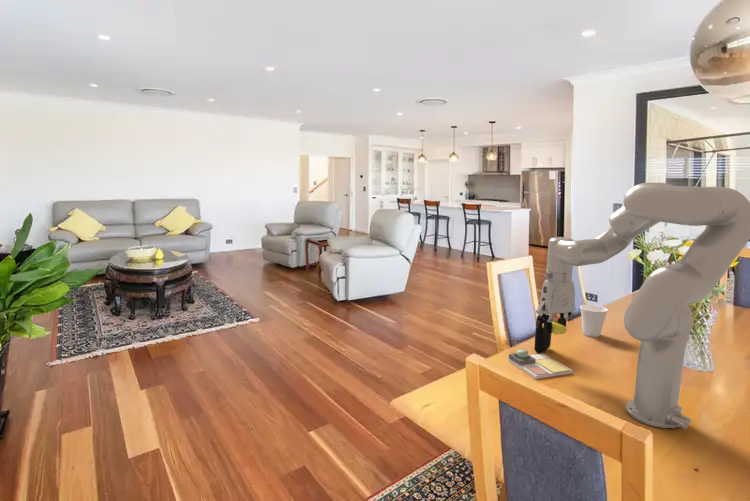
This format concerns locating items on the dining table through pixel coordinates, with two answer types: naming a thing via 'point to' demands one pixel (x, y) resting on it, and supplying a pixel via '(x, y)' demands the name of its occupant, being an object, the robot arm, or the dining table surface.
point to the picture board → (539, 366)
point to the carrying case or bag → (541, 336)
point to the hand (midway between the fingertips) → (554, 331)
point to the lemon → (558, 328)
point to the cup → (593, 319)
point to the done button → (522, 354)
